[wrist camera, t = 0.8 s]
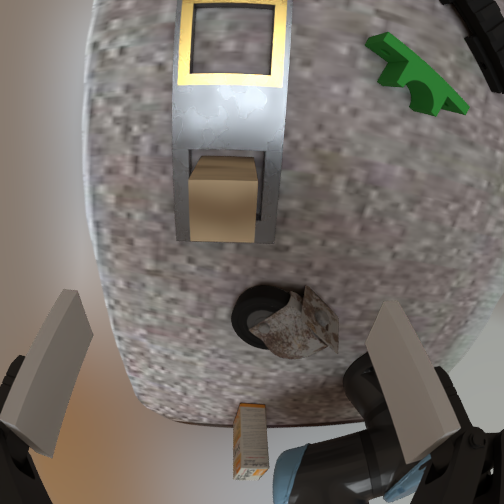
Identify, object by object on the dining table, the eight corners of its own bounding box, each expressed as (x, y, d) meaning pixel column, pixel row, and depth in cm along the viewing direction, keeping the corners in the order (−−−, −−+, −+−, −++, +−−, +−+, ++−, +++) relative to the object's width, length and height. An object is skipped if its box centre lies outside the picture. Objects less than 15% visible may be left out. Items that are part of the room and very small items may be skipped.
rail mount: (513, 75, 22) (539, 80, 18) (491, 95, 24) (518, 102, 20) (422, -66, 14) (444, -78, 9) (391, -54, 16) (412, -69, 11)
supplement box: (239, 401, 49) (239, 467, 38) (265, 403, 50) (270, 468, 38) (232, 421, 53) (232, 480, 42) (256, 423, 54) (259, 481, 42)
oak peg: (250, 204, 31) (254, 242, 24) (201, 203, 31) (190, 241, 24) (253, 157, 28) (258, 181, 21) (201, 155, 28) (188, 179, 21)
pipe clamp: (351, 65, 24) (369, 62, 20) (368, 37, 22) (387, 31, 18) (431, 127, 27) (455, 135, 23) (445, 101, 25) (470, 107, 21)
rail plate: (272, 236, 33) (274, 244, 31) (179, 233, 32) (176, 242, 31) (290, -11, 20) (293, -16, 18) (182, -13, 19) (178, -19, 18)
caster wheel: (228, 297, 40) (283, 255, 35) (285, 347, 42) (342, 315, 37) (211, 330, 34) (273, 287, 30) (277, 383, 36) (342, 352, 32)
